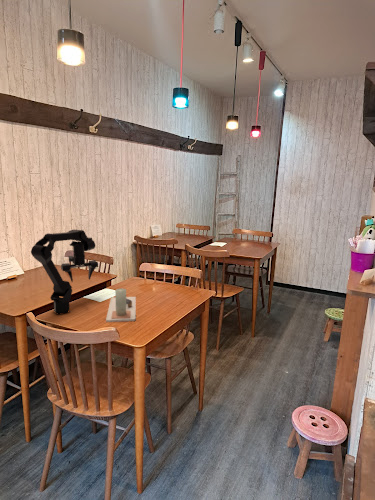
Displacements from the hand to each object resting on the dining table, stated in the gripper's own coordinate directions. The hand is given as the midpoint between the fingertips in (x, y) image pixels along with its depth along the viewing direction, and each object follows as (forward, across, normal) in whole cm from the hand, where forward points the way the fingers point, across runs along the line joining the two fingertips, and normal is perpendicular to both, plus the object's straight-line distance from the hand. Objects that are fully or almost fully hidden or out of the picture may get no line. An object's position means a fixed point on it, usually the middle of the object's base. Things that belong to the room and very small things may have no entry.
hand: (80, 280), depth 187 cm
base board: (+13, -17, +19) cm, 29 cm away
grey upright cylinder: (+11, -12, +30) cm, 34 cm away
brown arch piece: (+12, -17, +19) cm, 28 cm away
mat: (+13, -12, +30) cm, 35 cm away
